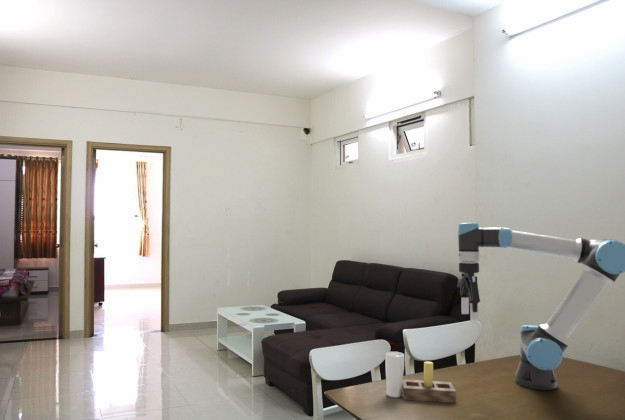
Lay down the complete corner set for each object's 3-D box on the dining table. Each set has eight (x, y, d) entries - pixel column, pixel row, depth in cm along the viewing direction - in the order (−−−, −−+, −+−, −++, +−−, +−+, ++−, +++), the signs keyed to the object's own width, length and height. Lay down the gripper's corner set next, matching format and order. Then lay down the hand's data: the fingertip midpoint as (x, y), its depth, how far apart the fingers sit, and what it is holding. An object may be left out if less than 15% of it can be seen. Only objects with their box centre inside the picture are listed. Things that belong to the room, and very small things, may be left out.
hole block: (450, 392, 181) (450, 382, 181) (455, 402, 171) (455, 391, 171) (401, 389, 183) (401, 379, 183) (403, 399, 173) (403, 388, 173)
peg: (431, 394, 179) (432, 361, 179) (433, 397, 176) (433, 364, 176) (422, 394, 179) (423, 361, 179) (424, 397, 176) (424, 363, 176)
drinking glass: (404, 393, 179) (405, 352, 179) (401, 400, 173) (402, 357, 173) (386, 391, 181) (387, 350, 182) (382, 397, 175) (383, 355, 175)
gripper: (451, 259, 203) (452, 311, 202) (467, 264, 178) (468, 323, 177) (470, 259, 202) (470, 311, 202) (488, 264, 178) (489, 323, 177)
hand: (469, 317), depth 190 cm, fingers open, 13 cm apart
